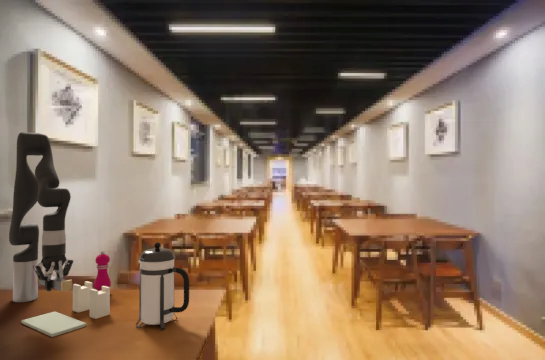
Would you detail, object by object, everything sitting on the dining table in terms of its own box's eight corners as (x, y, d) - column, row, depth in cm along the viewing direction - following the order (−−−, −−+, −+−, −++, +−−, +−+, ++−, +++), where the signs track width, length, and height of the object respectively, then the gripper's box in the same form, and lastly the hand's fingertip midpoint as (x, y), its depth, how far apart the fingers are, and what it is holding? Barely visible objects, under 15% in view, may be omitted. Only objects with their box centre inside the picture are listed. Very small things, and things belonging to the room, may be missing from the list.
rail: (36, 283, 146) (36, 274, 146) (46, 281, 148) (46, 272, 148) (62, 291, 135) (62, 282, 135) (71, 289, 138) (71, 280, 138)
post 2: (89, 316, 150) (89, 289, 150) (103, 312, 155) (103, 285, 155) (95, 318, 148) (95, 290, 148) (109, 314, 153) (109, 287, 153)
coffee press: (139, 335, 133) (140, 247, 132) (132, 320, 147) (133, 240, 147) (189, 326, 141) (190, 243, 140) (178, 313, 155) (179, 237, 155)
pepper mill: (104, 296, 175) (104, 252, 175) (90, 295, 177) (90, 251, 177) (114, 292, 182) (114, 249, 182) (100, 291, 184) (100, 249, 184)
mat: (21, 323, 143) (21, 320, 143) (54, 313, 153) (54, 311, 153) (52, 337, 131) (52, 334, 131) (86, 326, 141) (86, 323, 141)
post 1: (72, 310, 157) (72, 284, 157) (86, 306, 162) (87, 281, 162) (78, 312, 155) (78, 285, 155) (92, 308, 160) (92, 282, 160)
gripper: (67, 239, 150) (67, 283, 150) (28, 244, 138) (28, 292, 138) (78, 240, 146) (78, 287, 146) (38, 246, 134) (38, 296, 134)
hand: (53, 289), depth 142 cm, fingers closed on rail, 3 cm apart
